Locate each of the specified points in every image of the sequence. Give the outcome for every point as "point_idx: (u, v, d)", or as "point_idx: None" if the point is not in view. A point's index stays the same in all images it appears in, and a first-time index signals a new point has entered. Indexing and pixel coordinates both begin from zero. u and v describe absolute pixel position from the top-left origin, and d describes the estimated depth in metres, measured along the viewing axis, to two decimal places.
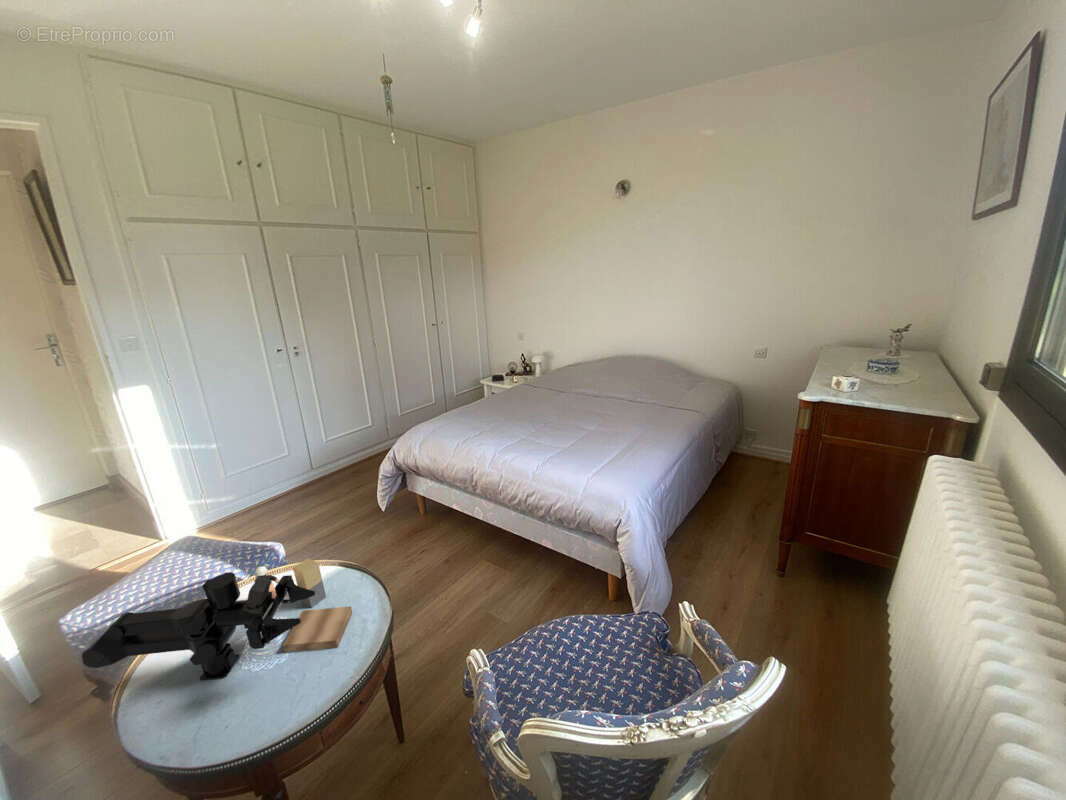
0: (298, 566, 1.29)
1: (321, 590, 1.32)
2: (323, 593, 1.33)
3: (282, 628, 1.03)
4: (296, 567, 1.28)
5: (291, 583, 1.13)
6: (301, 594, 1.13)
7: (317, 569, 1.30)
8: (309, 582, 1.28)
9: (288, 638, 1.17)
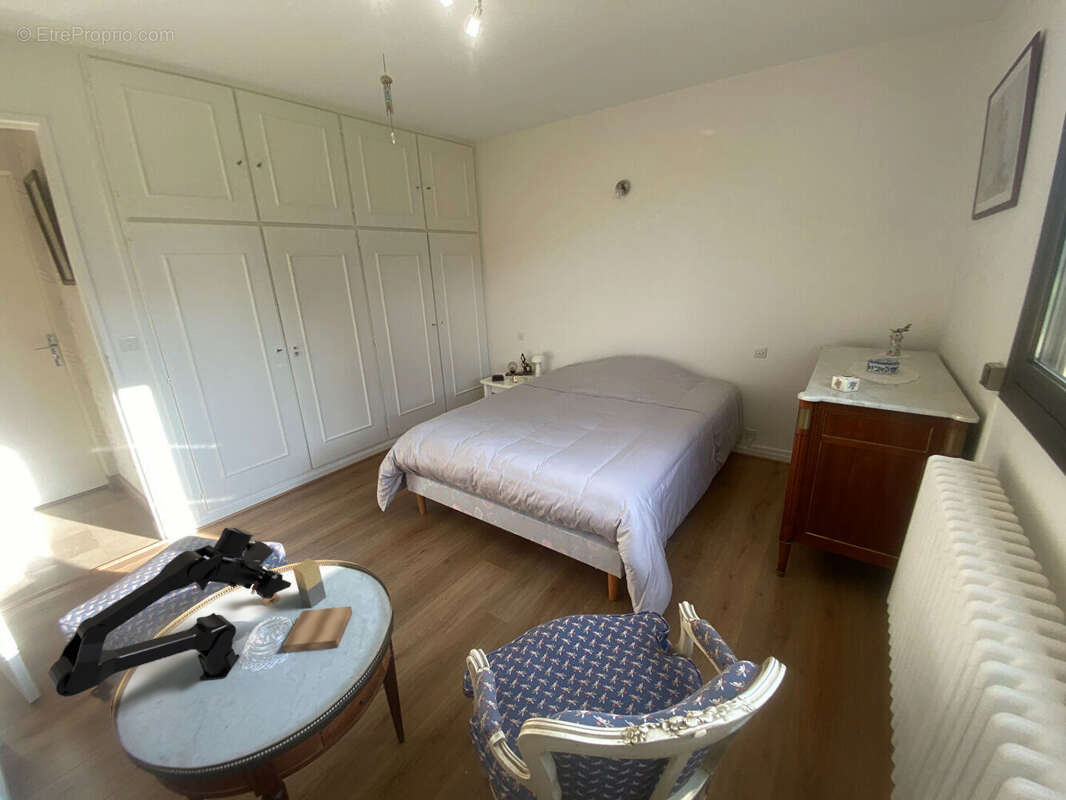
0: (298, 566, 1.29)
1: (321, 590, 1.32)
2: (323, 593, 1.33)
3: (280, 587, 1.17)
4: (296, 567, 1.28)
5: None
6: None
7: (317, 569, 1.30)
8: (309, 582, 1.28)
9: (288, 638, 1.17)
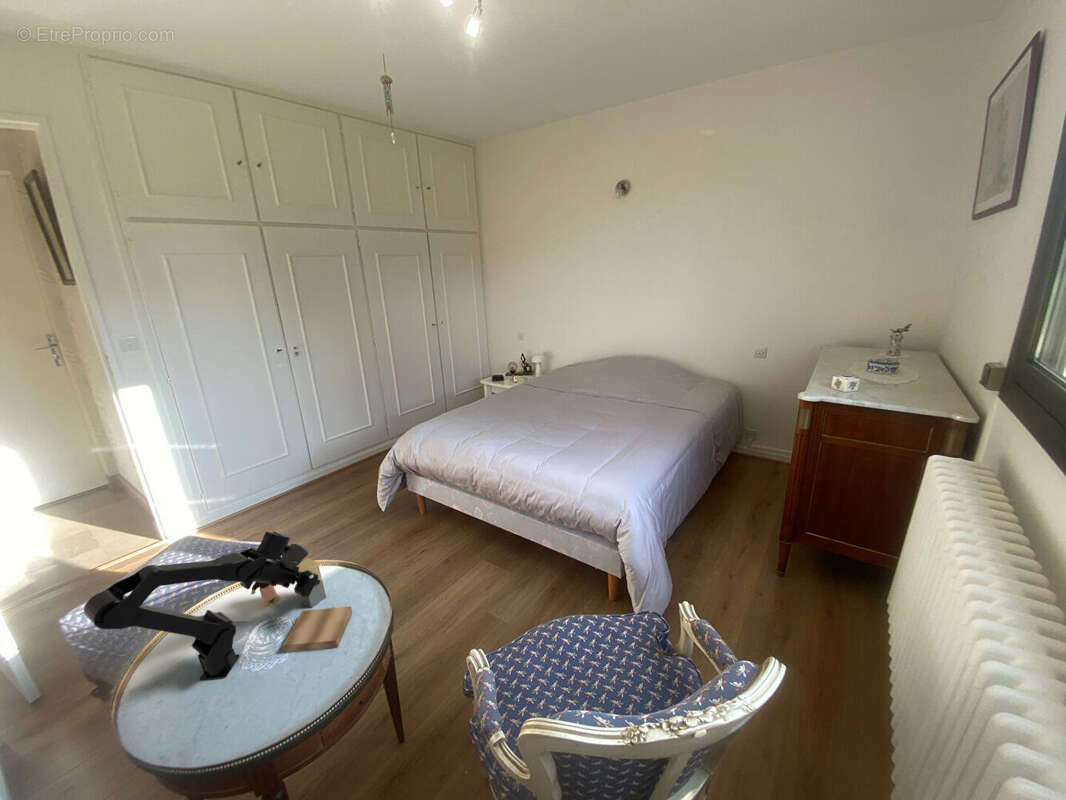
0: (298, 566, 1.29)
1: (321, 590, 1.32)
2: (323, 593, 1.33)
3: None
4: None
5: None
6: None
7: (316, 569, 1.30)
8: None
9: (288, 638, 1.17)
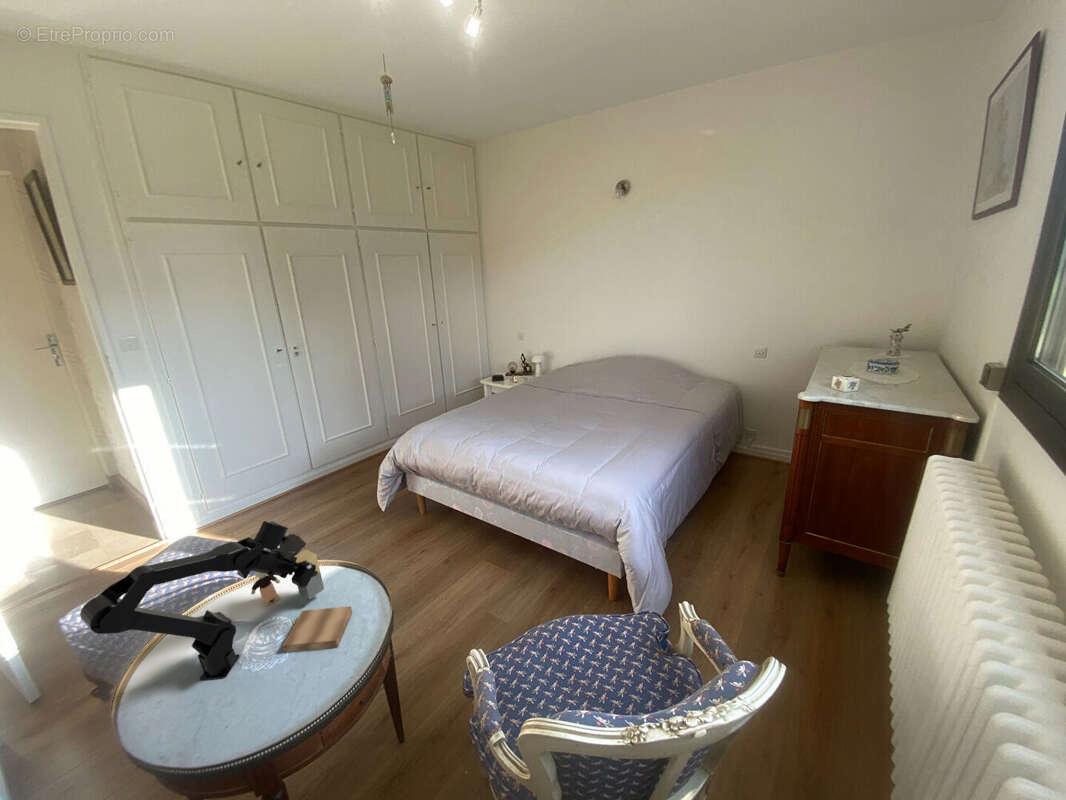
0: None
1: (319, 582, 1.31)
2: (321, 585, 1.32)
3: None
4: None
5: None
6: None
7: (315, 560, 1.29)
8: None
9: (288, 638, 1.17)
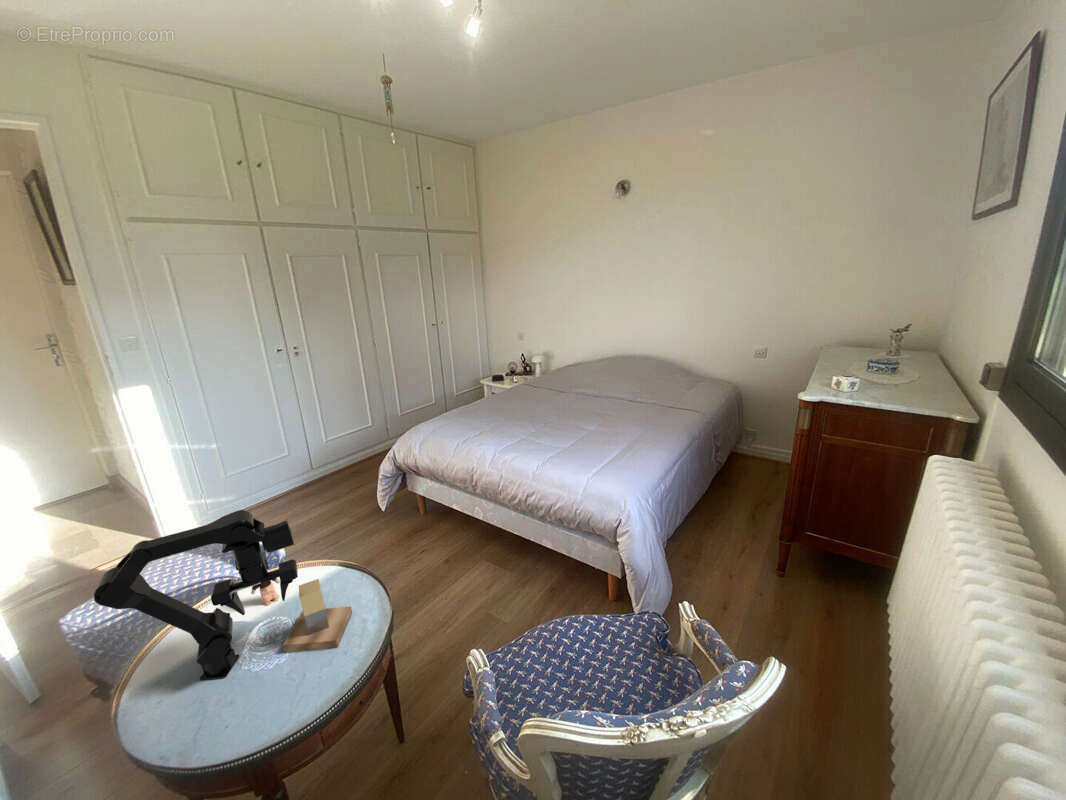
0: (303, 586, 1.17)
1: (323, 619, 1.18)
2: (325, 622, 1.19)
3: None
4: (301, 586, 1.17)
5: None
6: (240, 603, 1.11)
7: (318, 596, 1.16)
8: (307, 608, 1.15)
9: (288, 638, 1.17)
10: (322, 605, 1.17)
